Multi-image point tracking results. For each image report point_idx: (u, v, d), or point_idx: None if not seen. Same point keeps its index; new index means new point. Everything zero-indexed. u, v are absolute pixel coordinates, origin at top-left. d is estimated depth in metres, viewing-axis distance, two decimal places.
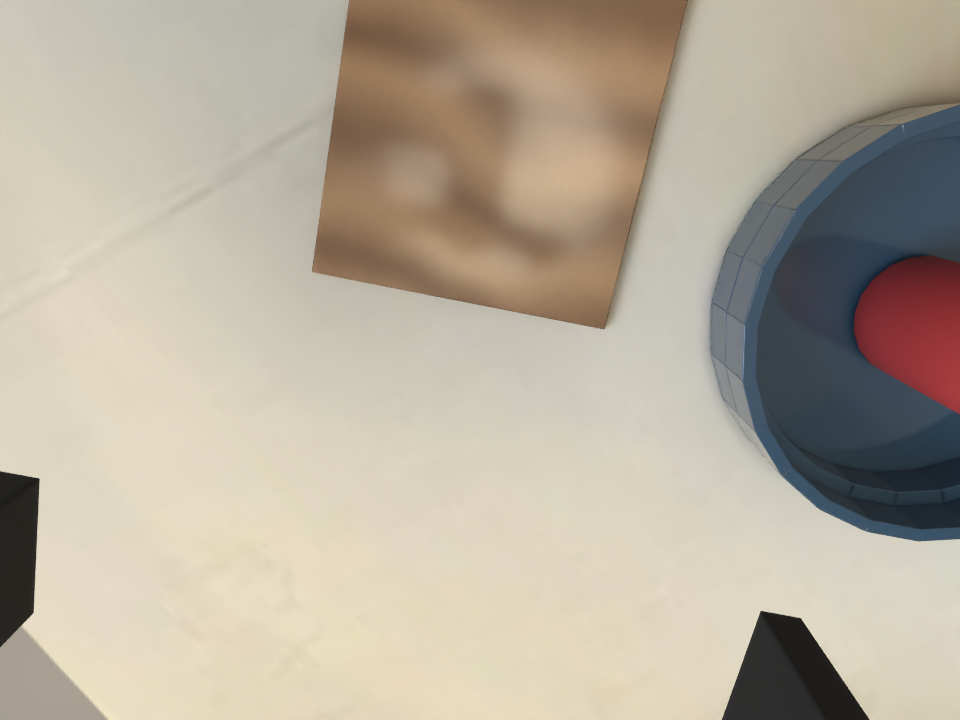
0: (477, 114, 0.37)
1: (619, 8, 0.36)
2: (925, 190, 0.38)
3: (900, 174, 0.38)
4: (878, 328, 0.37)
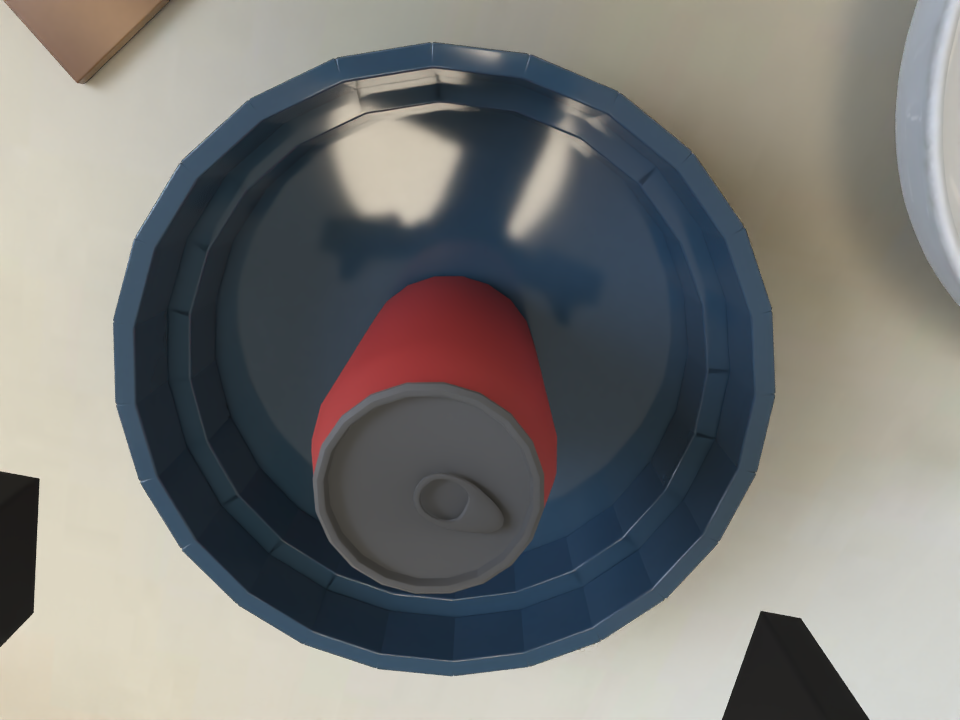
0: None
1: None
2: (558, 222, 0.28)
3: (544, 180, 0.27)
4: (373, 322, 0.26)
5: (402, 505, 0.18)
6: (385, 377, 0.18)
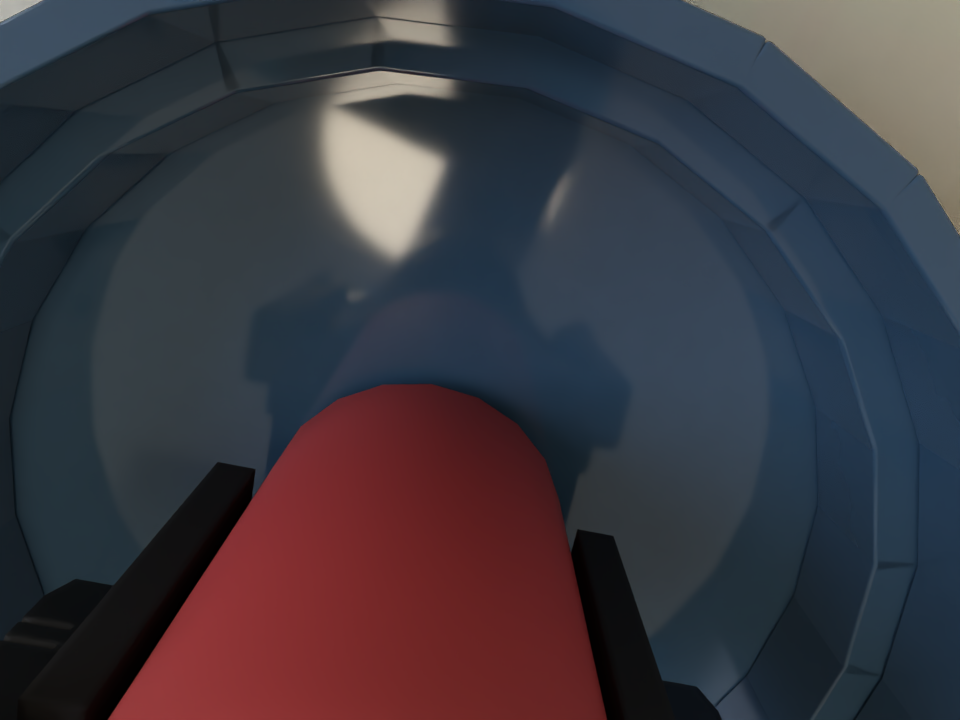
0: None
1: None
2: (601, 290, 0.16)
3: (577, 217, 0.15)
4: (262, 485, 0.14)
5: None
6: None
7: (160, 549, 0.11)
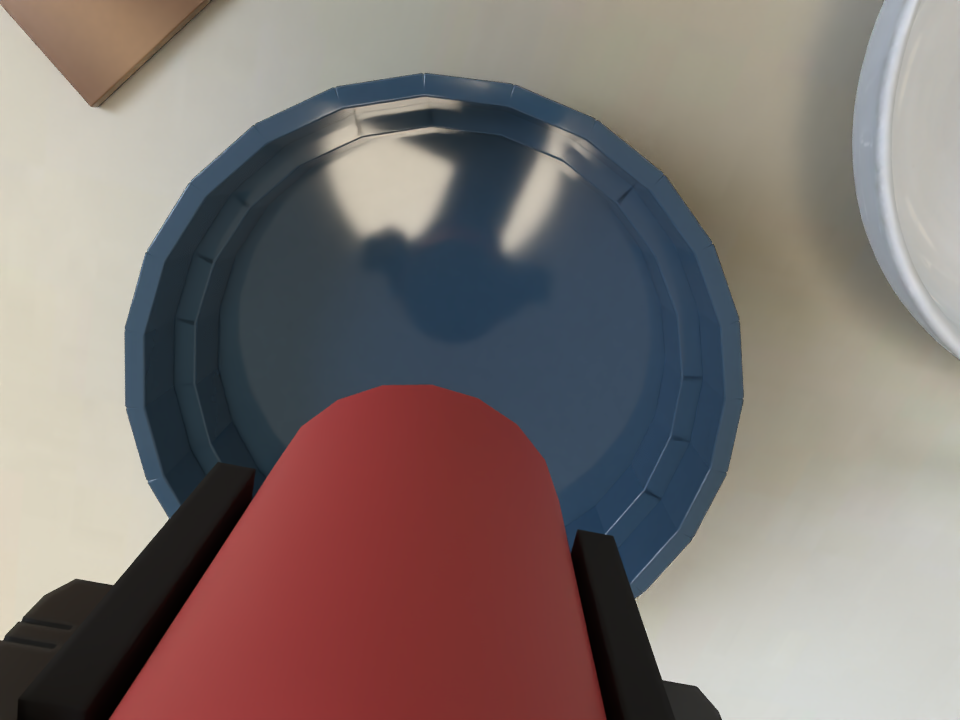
0: None
1: None
2: (542, 238, 0.29)
3: (529, 199, 0.29)
4: (262, 485, 0.14)
5: None
6: None
7: (160, 549, 0.11)
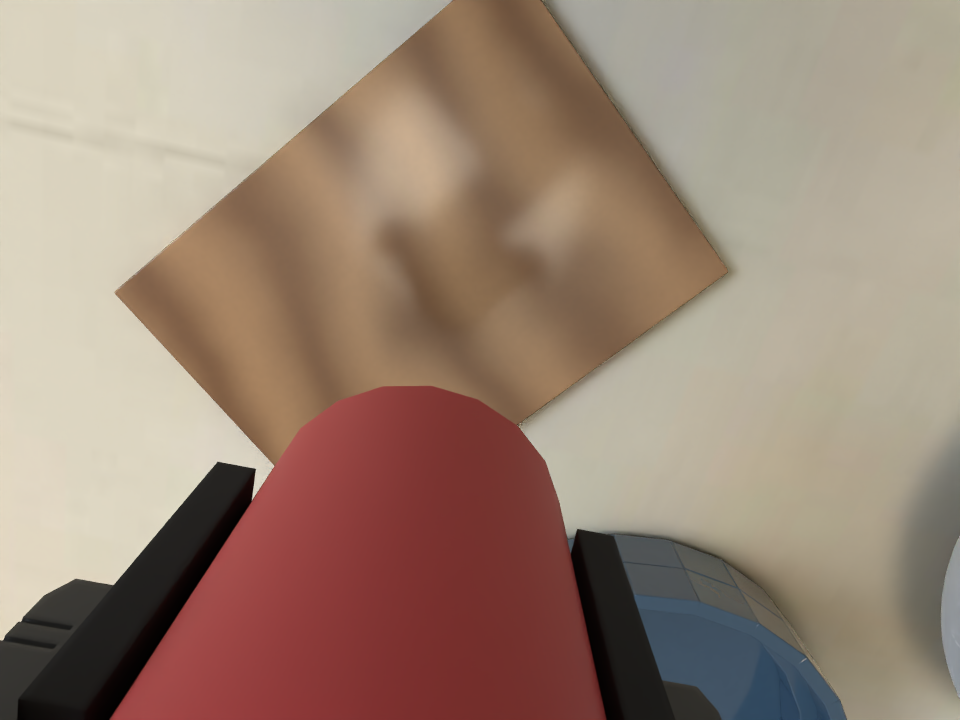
0: (381, 286, 0.33)
1: (569, 303, 0.33)
2: (690, 633, 0.38)
3: None
4: (261, 487, 0.14)
5: None
6: None
7: (160, 549, 0.11)
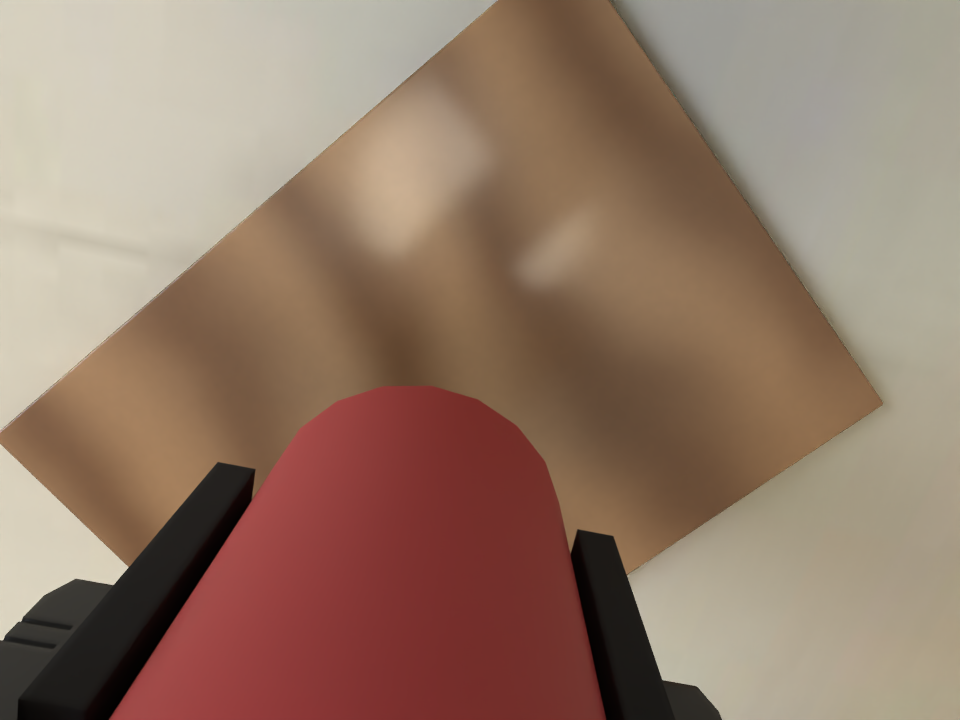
0: None
1: (650, 449, 0.23)
2: None
3: None
4: (261, 487, 0.14)
5: None
6: None
7: (160, 549, 0.11)
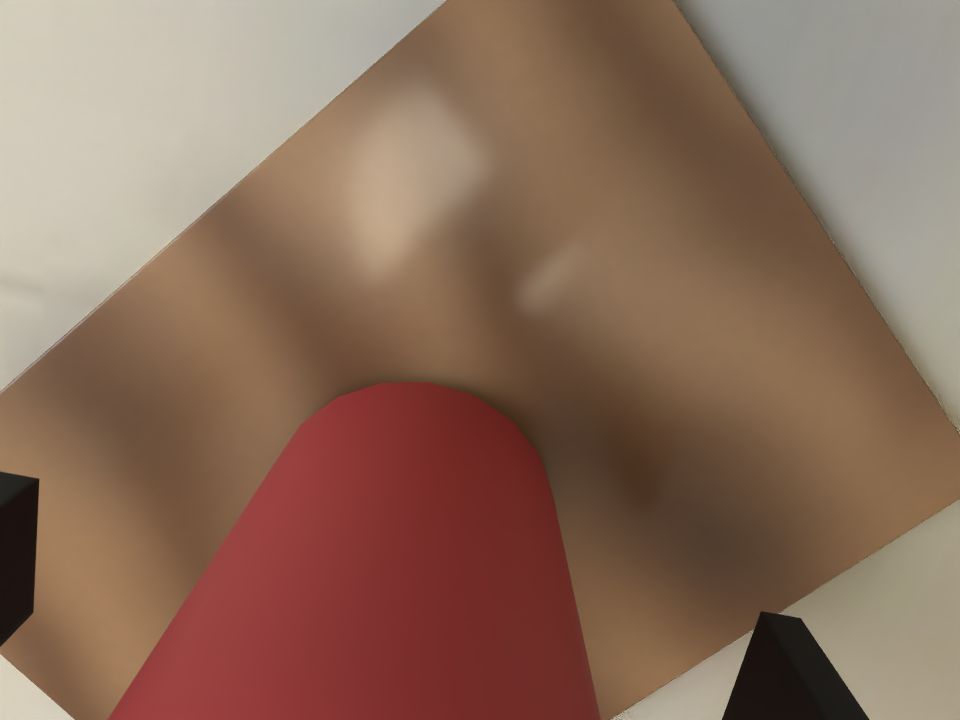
0: None
1: (690, 536, 0.18)
2: None
3: None
4: (264, 480, 0.14)
5: None
6: None
7: None
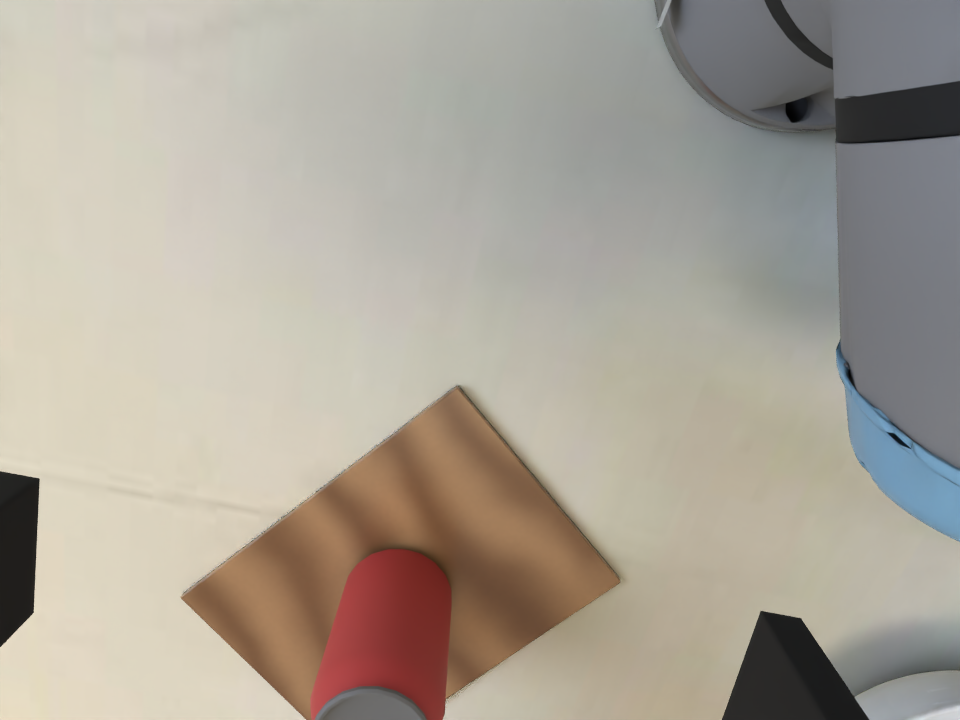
0: None
1: (507, 603, 0.46)
2: None
3: None
4: (348, 590, 0.42)
5: None
6: (348, 678, 0.34)
7: None
